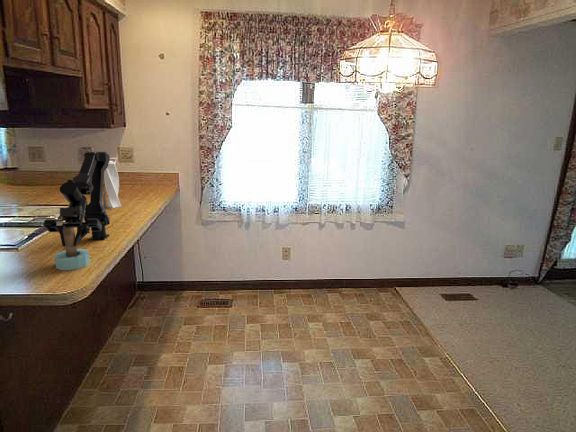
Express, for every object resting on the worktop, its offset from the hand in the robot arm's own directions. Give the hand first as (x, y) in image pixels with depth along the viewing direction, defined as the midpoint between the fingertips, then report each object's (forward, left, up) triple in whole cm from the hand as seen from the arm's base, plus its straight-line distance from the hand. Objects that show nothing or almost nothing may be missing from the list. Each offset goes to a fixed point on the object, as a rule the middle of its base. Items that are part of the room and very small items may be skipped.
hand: (69, 246), depth 142 cm
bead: (-1, 0, -8) cm, 8 cm away
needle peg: (-1, 0, -7) cm, 7 cm away
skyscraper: (-84, -20, -8) cm, 87 cm away
